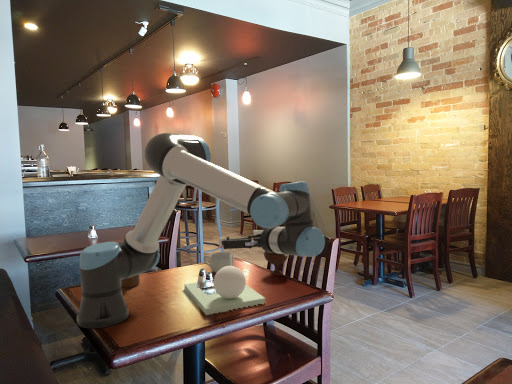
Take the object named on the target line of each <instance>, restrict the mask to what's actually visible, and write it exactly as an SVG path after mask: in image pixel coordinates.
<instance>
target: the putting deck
mask: <svg viewBox="0 0 512 384" xmlns="http://www.w3.org/2000/svg"><path fill="white" fill-rule="evenodd" d="M219 248H221V249H224V247H222V246H219ZM229 253H230V266H234V263H233V264H232V254H233V249H229ZM197 282H198V281H197ZM197 282H190V283H184V287H183V288H184V290H185V292H186V293H187V294H188V295H189V297H191V299H192V300H193V302H195V304H196V305H197V306H198V307H199V309H200V310H201V311H202V312H203V313H204V315H205V316H209V315H215V314H218V313H219V312H220V313H226V312H230V311H229V310H231V311H234V310H233V309H236V310H239V309H238V308H241V309H244V308H243V307H246V308H249V307H248V306H251V307H255V306H254V305H256V306H259V305H258V304H262V305H265V304H266V297H265V296H264V295H261V294H260V293H259V292H258V291H256V290H255V289H254V288H252V287H250V286H249V285H248V284H245V288H244V290H243V292H242V293H241V294H240V295H239V296H237V297H236V298H232V299H227V298H223V297H221V296H220V295H219V294H218V293H217V292H216V293H211V294H206V293H205V292H204V291H203V289H200V288H197ZM264 303H265V304H264ZM214 313H215V314H214Z"/></svg>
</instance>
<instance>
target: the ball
mask: <svg viewBox="0 0 512 384" xmlns="http://www.w3.org/2000/svg"><path fill="white" fill-rule="evenodd" d="M213 280H214V287H213V288H214V289H215V292H216V293H218V294H219V295H220V296H221V297H223V298H227V299H232V298H236V297H237V296H239V295H240V294H241V293H242V292H243V290H244V288H245V284H246V282H247V280H246V276H245V273H243V271H242V270H241V269H240V268H239V267H236V266H234V265H233V266H225V267H223V268H221V269H220V270H219V271H218V272H217V273H215V275H214V277H213ZM246 285H247V284H246Z"/></svg>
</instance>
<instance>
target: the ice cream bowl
mask: <svg viewBox="0 0 512 384" xmlns="http://www.w3.org/2000/svg"><path fill="white" fill-rule="evenodd" d="M263 256H264V259H265V260H266V261H267V262H268V263H269V264H271V265H273V266H274V269H273V270H272V271H271V272H270V275H271V276H274V275H279V276H282V275H283V274H284V273H283V272H282V271H281V270H280V269H279V267H280V265H282V264H283V263H285V262H286V261H288V258H289V255H288V256H285V255H284V254H278V253H268V252H266V251H263Z"/></svg>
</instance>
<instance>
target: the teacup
mask: <svg viewBox="0 0 512 384" xmlns="http://www.w3.org/2000/svg"><path fill="white" fill-rule="evenodd" d="M207 258H208V259H209V261H207ZM202 260H203V262H204V264H205V265H207V266H208V267H209V268H210V270H211V271H212V272H214V273H215V274H216V273H217V272H218V271H219V270H220V269H221V268H223V267H225V266H230V251H219V252H214V253H211V254H205V255H204V256H203V259H202ZM232 264H233V265H234V254H233V253H232Z"/></svg>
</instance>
